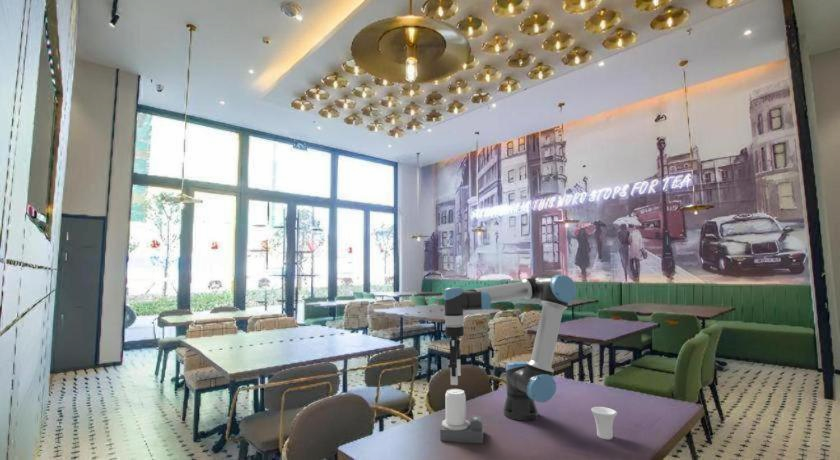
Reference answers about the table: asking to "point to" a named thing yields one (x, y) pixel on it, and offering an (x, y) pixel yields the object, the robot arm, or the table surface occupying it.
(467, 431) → the grey hot plate stirrer
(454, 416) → the beverage can
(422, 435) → the table surface
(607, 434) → the cup
